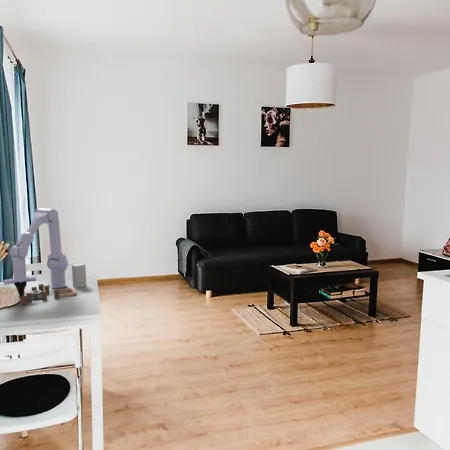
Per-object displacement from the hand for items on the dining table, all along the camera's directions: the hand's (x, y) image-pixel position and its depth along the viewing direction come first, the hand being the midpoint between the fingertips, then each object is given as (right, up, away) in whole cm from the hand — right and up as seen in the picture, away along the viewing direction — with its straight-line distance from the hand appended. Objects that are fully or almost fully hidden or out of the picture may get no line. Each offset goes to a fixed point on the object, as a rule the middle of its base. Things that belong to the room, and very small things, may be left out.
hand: (21, 296), depth 234 cm
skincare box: (+21, +2, +25) cm, 33 cm away
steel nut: (+6, -1, +4) cm, 7 cm away
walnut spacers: (+6, -1, +4) cm, 7 cm away
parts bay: (+18, 0, +11) cm, 21 cm away
